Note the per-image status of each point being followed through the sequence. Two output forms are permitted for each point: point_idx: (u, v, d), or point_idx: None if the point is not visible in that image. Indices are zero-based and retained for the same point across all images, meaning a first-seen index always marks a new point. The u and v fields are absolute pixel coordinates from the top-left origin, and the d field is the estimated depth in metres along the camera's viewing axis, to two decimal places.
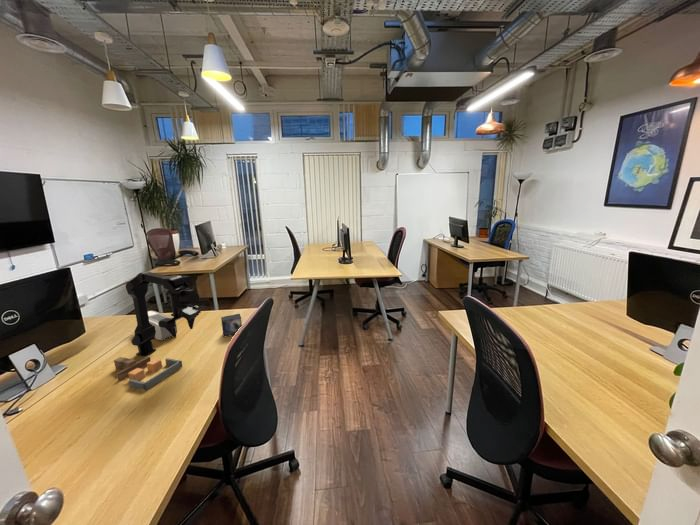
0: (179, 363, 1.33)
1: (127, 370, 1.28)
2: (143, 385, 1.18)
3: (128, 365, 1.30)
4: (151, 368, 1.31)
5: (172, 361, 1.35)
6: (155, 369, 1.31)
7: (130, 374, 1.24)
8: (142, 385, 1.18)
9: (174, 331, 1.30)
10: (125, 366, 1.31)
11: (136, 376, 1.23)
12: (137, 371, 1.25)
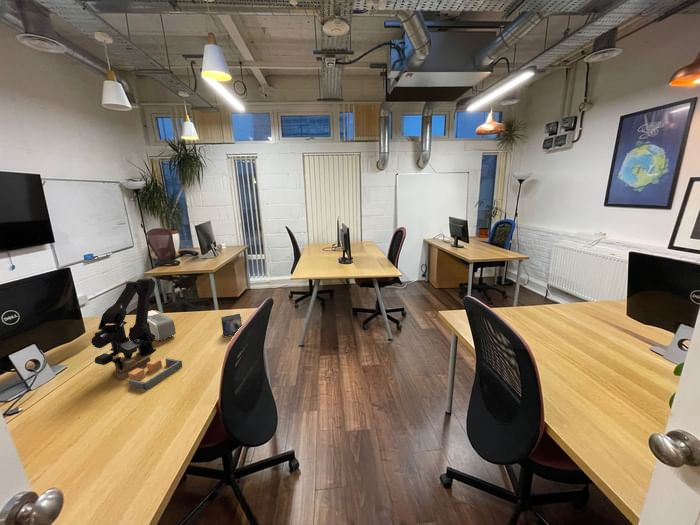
0: (179, 363, 1.33)
1: (127, 369, 1.28)
2: (143, 385, 1.18)
3: (128, 365, 1.30)
4: (151, 368, 1.31)
5: (172, 361, 1.35)
6: (155, 369, 1.31)
7: (130, 374, 1.24)
8: (142, 385, 1.18)
9: (119, 363, 1.30)
10: (125, 366, 1.31)
11: (136, 376, 1.23)
12: (137, 371, 1.25)
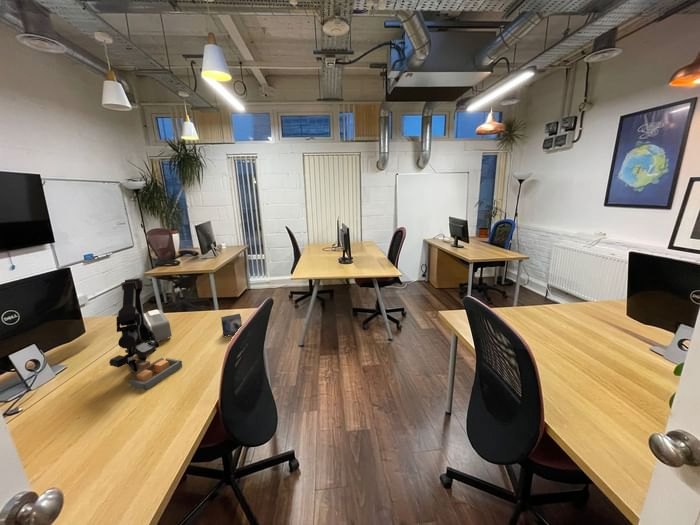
0: (179, 363, 1.33)
1: None
2: (143, 385, 1.18)
3: (142, 367, 1.27)
4: (159, 369, 1.30)
5: (172, 361, 1.35)
6: (163, 370, 1.30)
7: (138, 376, 1.22)
8: (142, 385, 1.18)
9: (134, 365, 1.27)
10: (139, 368, 1.28)
11: (144, 377, 1.22)
12: (145, 373, 1.23)
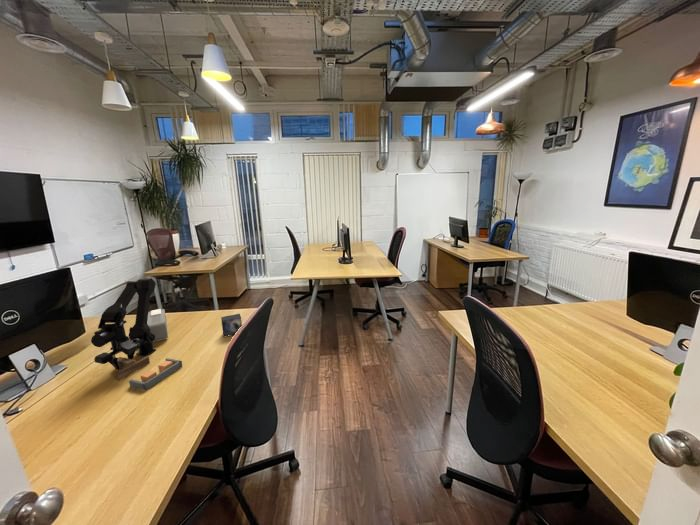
0: (179, 363, 1.33)
1: (126, 369, 1.28)
2: (143, 385, 1.18)
3: (127, 365, 1.30)
4: (163, 370, 1.29)
5: (172, 361, 1.35)
6: None
7: (142, 377, 1.21)
8: (142, 385, 1.18)
9: (116, 364, 1.29)
10: (124, 366, 1.31)
11: (148, 378, 1.21)
12: (149, 374, 1.23)
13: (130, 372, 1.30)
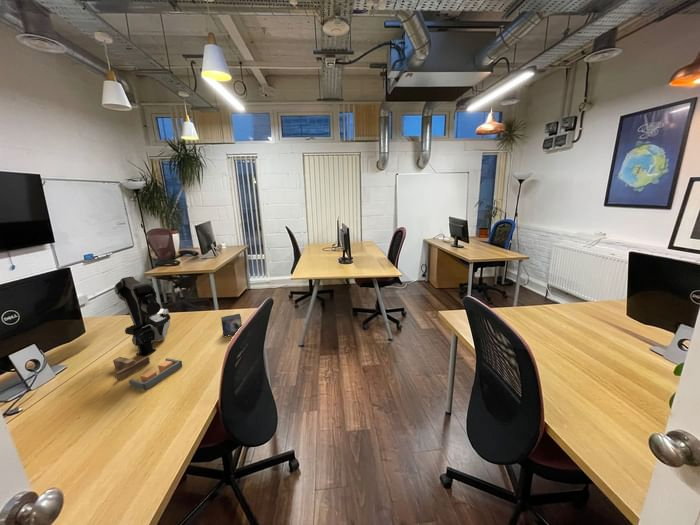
0: (179, 363, 1.33)
1: (126, 369, 1.28)
2: (143, 385, 1.18)
3: (127, 365, 1.30)
4: (163, 370, 1.29)
5: (172, 361, 1.35)
6: None
7: (142, 377, 1.21)
8: (142, 385, 1.18)
9: (141, 338, 1.33)
10: (124, 366, 1.31)
11: (148, 378, 1.21)
12: (149, 374, 1.23)
13: (130, 372, 1.30)
